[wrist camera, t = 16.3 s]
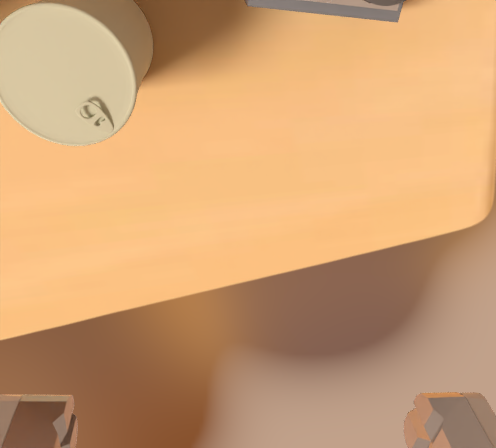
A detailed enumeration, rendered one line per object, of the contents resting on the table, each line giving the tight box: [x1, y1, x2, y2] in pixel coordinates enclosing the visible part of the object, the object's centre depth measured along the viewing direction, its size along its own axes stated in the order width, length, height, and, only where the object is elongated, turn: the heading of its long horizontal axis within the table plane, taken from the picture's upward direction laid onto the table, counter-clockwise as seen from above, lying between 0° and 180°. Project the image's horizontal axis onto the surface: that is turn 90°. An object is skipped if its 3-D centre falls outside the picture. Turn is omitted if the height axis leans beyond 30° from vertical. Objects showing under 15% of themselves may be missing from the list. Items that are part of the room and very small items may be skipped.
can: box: [0, 0, 153, 146], centre depth 34 cm, size 9×9×12 cm
